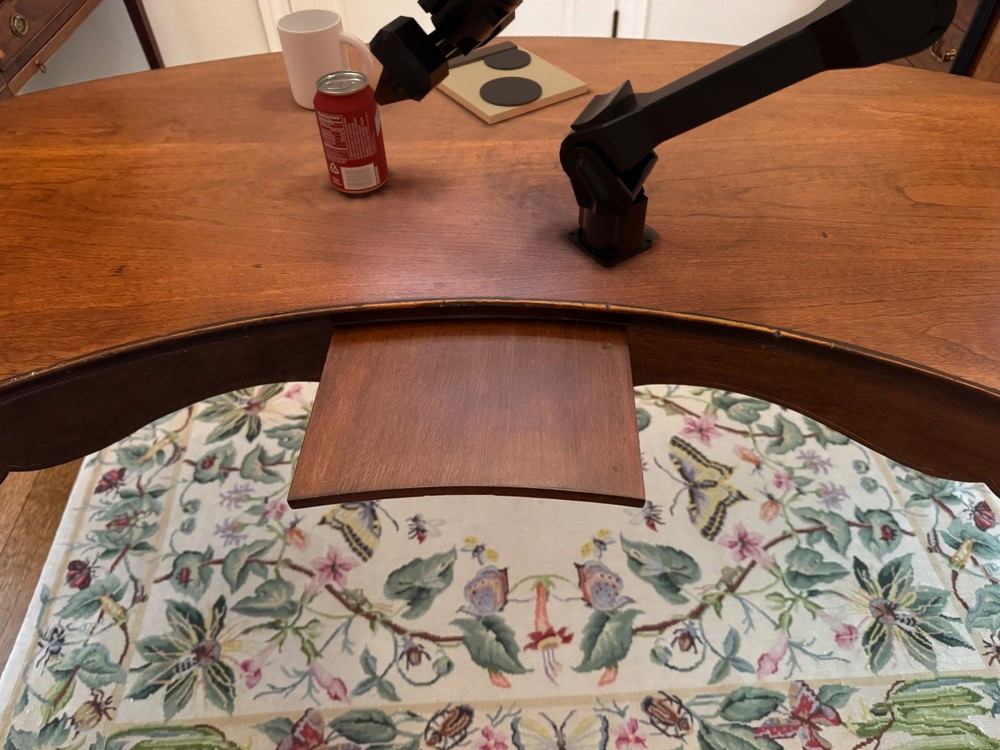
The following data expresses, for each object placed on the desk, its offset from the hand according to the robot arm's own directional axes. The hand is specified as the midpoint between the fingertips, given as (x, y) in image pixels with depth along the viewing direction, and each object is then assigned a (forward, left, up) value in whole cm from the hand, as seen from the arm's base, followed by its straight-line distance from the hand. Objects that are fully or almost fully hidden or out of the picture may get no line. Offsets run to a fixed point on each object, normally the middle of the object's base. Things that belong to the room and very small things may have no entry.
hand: (401, 82), depth 72 cm
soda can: (+6, +4, -13) cm, 15 cm away
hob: (+18, -24, -13) cm, 33 cm away
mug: (+28, -3, -13) cm, 31 cm away
